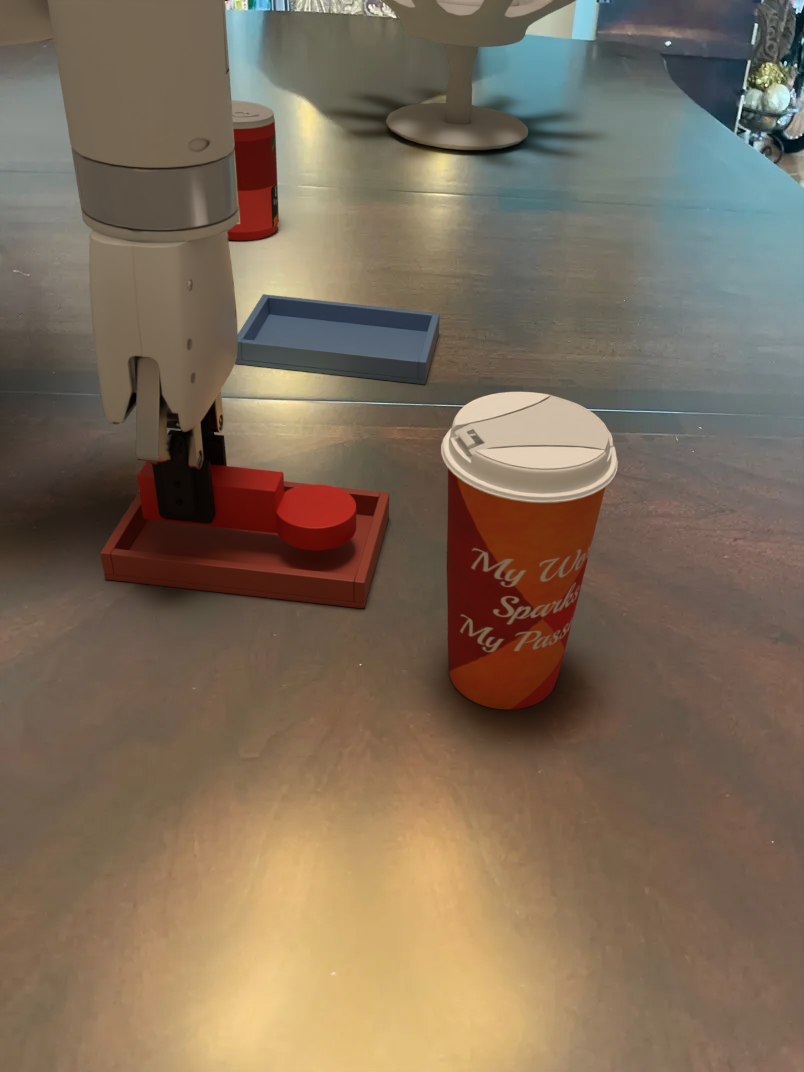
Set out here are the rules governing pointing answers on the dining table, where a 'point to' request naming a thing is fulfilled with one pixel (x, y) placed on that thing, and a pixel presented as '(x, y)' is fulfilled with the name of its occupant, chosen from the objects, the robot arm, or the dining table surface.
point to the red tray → (249, 557)
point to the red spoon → (269, 506)
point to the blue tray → (339, 339)
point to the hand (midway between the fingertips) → (194, 503)
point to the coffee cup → (519, 539)
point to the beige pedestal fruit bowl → (464, 68)
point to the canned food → (255, 171)
